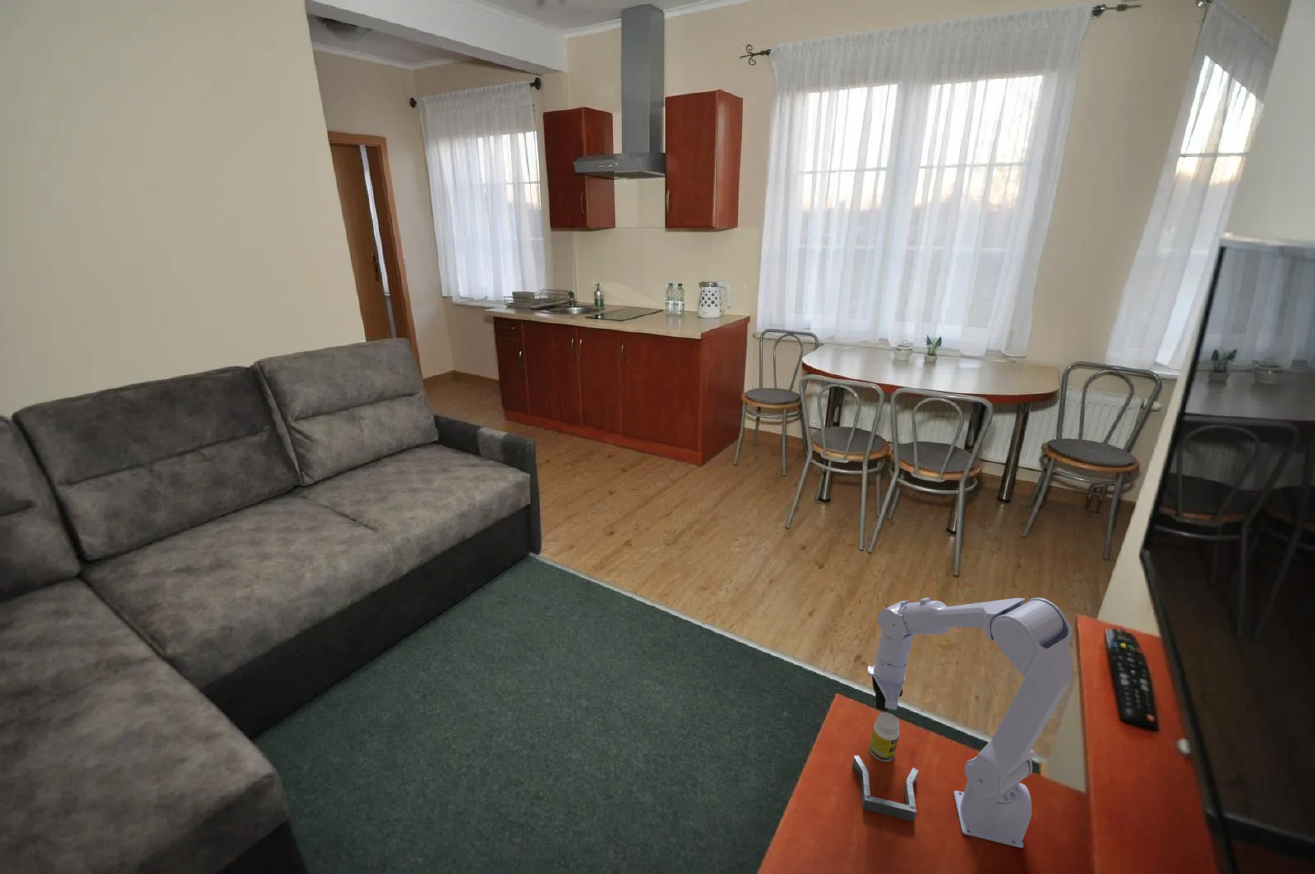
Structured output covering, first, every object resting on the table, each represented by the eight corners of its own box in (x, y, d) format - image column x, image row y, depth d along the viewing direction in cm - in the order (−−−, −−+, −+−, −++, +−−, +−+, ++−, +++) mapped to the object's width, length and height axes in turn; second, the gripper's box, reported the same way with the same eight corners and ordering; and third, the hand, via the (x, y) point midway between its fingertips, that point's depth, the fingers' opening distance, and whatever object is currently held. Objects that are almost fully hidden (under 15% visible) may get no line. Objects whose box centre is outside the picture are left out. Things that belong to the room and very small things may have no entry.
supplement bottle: (890, 767, 112) (897, 735, 109) (865, 753, 115) (871, 722, 111) (897, 749, 116) (904, 718, 112) (873, 737, 118) (879, 706, 115)
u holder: (915, 777, 110) (918, 768, 109) (923, 824, 102) (925, 814, 101) (852, 763, 113) (853, 754, 112) (854, 807, 105) (856, 797, 104)
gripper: (868, 628, 122) (859, 677, 127) (873, 679, 109) (863, 732, 114) (904, 634, 120) (893, 684, 125) (914, 687, 107) (901, 740, 113)
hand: (881, 707), depth 120 cm, fingers closed
